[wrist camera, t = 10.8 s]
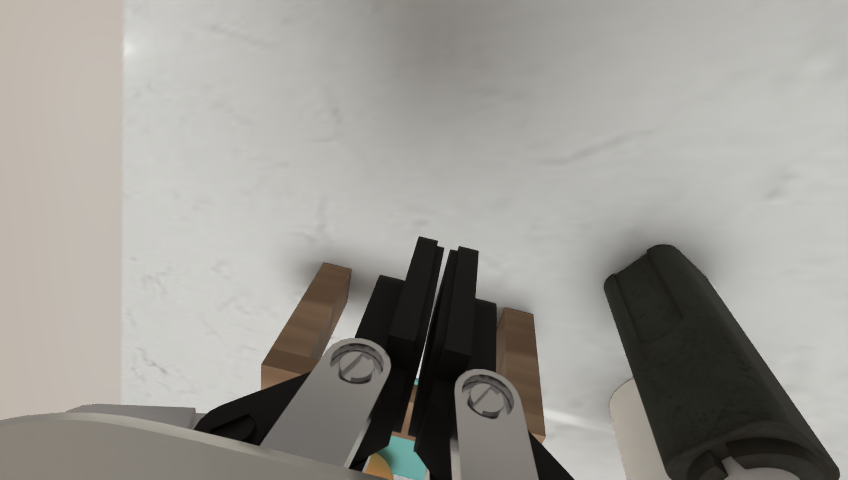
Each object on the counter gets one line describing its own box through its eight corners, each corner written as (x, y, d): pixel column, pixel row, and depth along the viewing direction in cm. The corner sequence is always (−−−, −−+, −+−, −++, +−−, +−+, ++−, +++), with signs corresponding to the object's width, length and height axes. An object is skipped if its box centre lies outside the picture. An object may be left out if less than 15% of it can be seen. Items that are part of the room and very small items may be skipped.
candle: (645, 329, 31) (990, 1154, 9) (595, 285, 29) (856, 1112, 8) (716, 287, 28) (1403, 1263, 7) (665, 237, 27) (1304, 1230, 6)
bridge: (323, 262, 32) (261, 364, 23) (533, 314, 31) (545, 436, 23) (320, 295, 33) (261, 402, 25) (520, 345, 33) (527, 470, 24)
